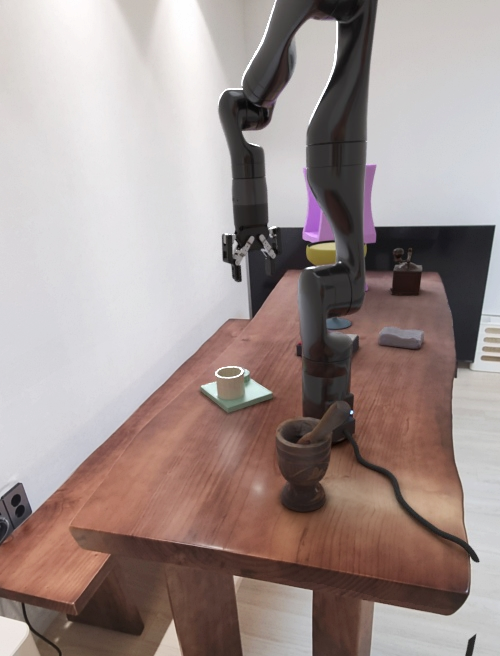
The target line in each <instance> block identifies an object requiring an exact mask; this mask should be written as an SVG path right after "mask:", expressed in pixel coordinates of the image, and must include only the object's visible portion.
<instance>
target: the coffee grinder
mask: <svg viewBox="0 0 500 656" xmlns="http://www.w3.org/2000/svg"><path fill="white" fill-rule="evenodd" d="M412 253H413V248H412V247H409V248H408V252H407V258H406V259H403V258H402V257H403V255H404V254H405V250H404V249H403V248H401V247H397V248H395V249H393V250H392V255H393V257H394V258H393V261H394V263H398V264H395V265H394V268H393V270H392V271H393V272H392V281H391V287H390V289H389V291H390V294H391V295H392V296H401V297H406V296H407V297H419V296H420V290H421V284H422V283H421V282H422V273H423V265H422V264H421V265H420V264H416V263H413V262H411V258H412V255H413V254H412Z"/></svg>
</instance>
